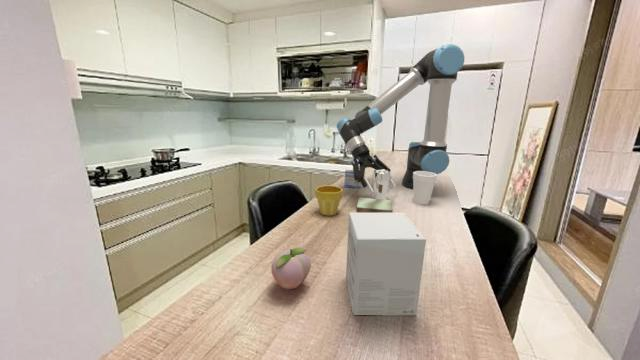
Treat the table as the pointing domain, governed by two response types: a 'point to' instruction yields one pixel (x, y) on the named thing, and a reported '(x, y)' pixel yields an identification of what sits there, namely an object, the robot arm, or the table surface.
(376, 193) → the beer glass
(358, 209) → the green box
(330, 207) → the plant pot
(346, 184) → the medicine box
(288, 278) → the decorative fruit
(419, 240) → the supplement box
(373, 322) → the table surface
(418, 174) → the foam cup
